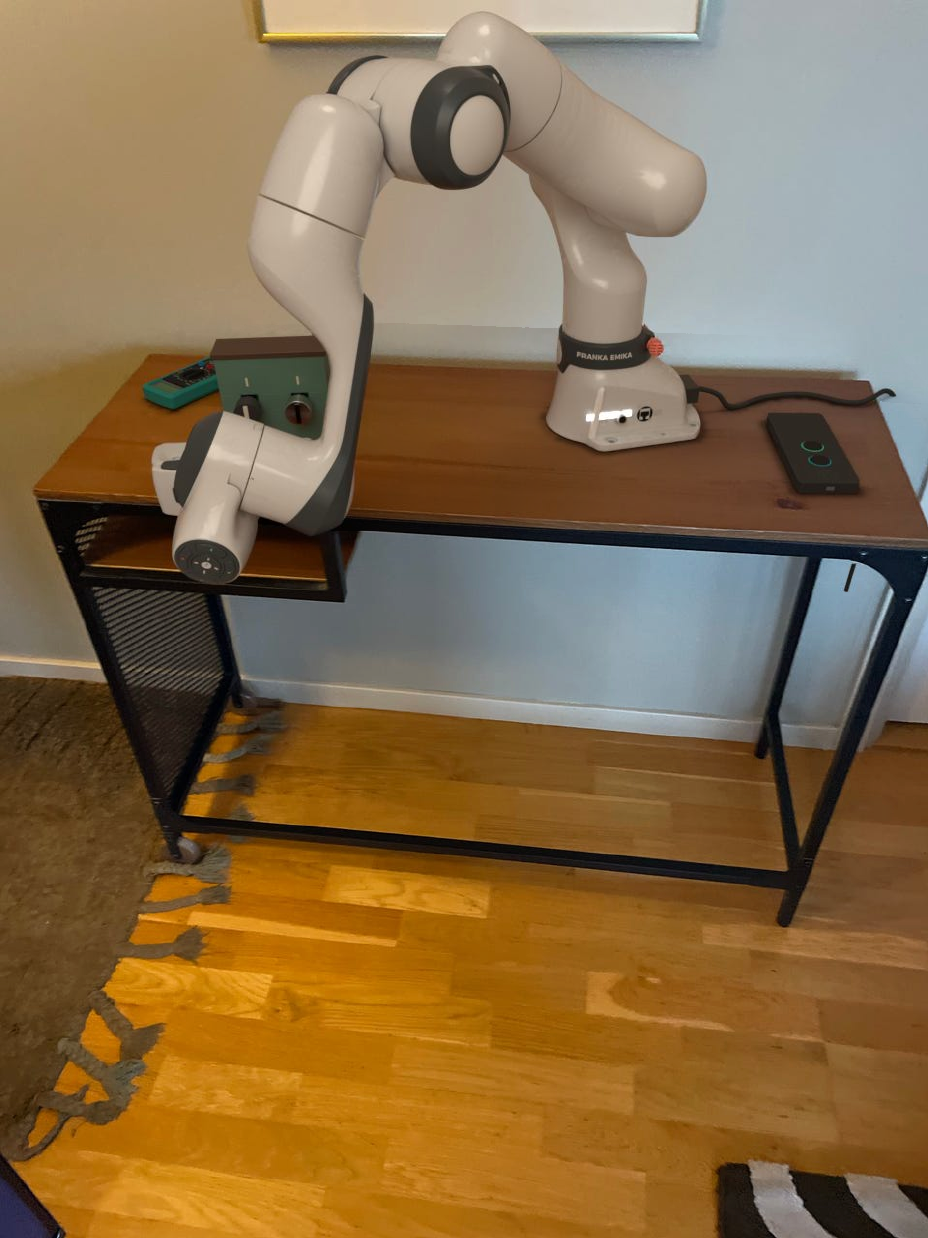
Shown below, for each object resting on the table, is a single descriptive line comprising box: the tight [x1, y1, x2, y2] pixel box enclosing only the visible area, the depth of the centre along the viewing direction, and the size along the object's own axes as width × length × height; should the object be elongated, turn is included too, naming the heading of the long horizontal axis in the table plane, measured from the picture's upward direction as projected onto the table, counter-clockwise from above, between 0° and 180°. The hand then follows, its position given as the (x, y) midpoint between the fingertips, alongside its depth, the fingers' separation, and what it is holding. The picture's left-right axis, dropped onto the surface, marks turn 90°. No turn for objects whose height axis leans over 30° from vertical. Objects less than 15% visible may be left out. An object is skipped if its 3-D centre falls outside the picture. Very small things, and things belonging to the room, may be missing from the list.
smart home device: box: [765, 412, 861, 495], centre depth 126 cm, size 8×2×20 cm
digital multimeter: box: [141, 355, 219, 411], centre depth 145 cm, size 7×15×3 cm, turn 143°
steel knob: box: [285, 393, 312, 425], centre depth 127 cm, size 6×4×4 cm, turn 3°
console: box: [209, 335, 330, 440], centre depth 130 cm, size 6×16×14 cm, turn 93°
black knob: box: [233, 395, 262, 422], centre depth 127 cm, size 6×4×4 cm, turn 3°
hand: (243, 434), depth 120 cm, fingers closed
